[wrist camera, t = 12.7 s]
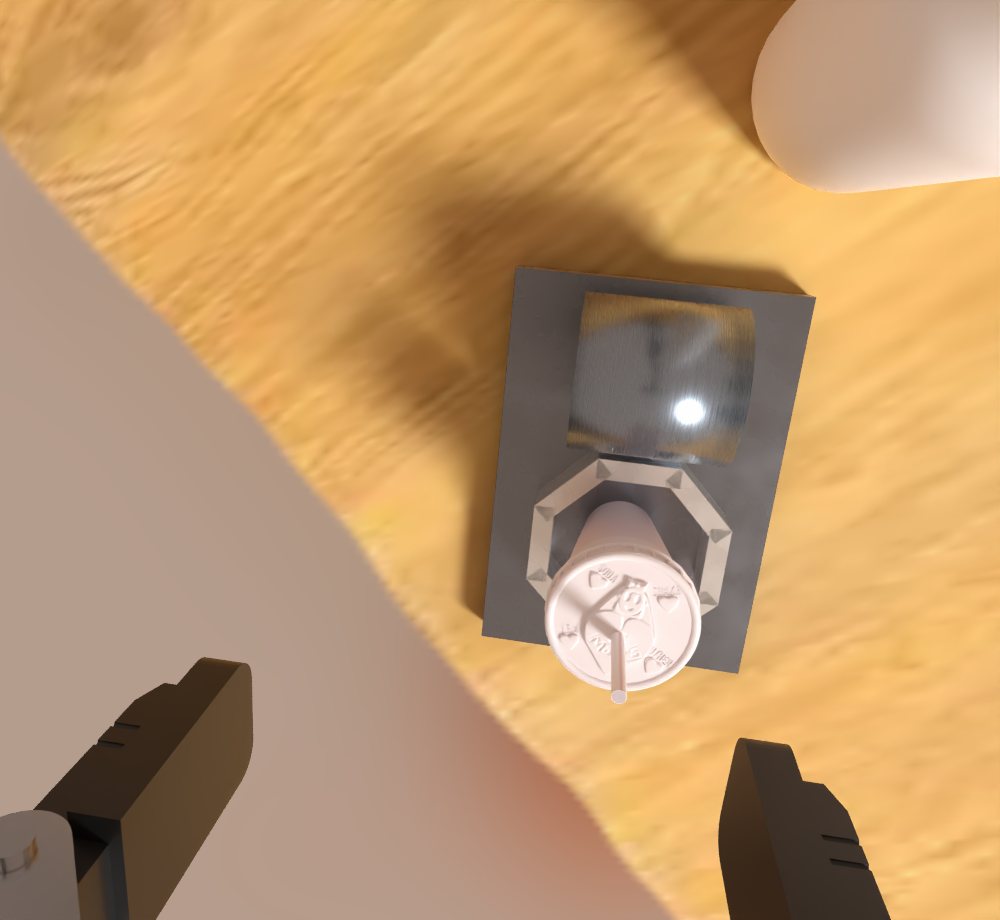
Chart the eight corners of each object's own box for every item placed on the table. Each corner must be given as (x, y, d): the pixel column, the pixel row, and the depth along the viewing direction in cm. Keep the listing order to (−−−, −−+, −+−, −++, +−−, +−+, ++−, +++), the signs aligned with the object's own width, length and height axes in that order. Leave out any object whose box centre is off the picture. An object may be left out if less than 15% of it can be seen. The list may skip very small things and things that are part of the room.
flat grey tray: (519, 265, 39) (496, 276, 31) (808, 294, 38) (862, 314, 30) (485, 622, 45) (459, 709, 37) (733, 658, 44) (762, 757, 36)
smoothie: (542, 570, 42) (512, 729, 29) (577, 460, 40) (562, 577, 27) (658, 605, 42) (682, 783, 29) (699, 496, 40) (745, 633, 27)
